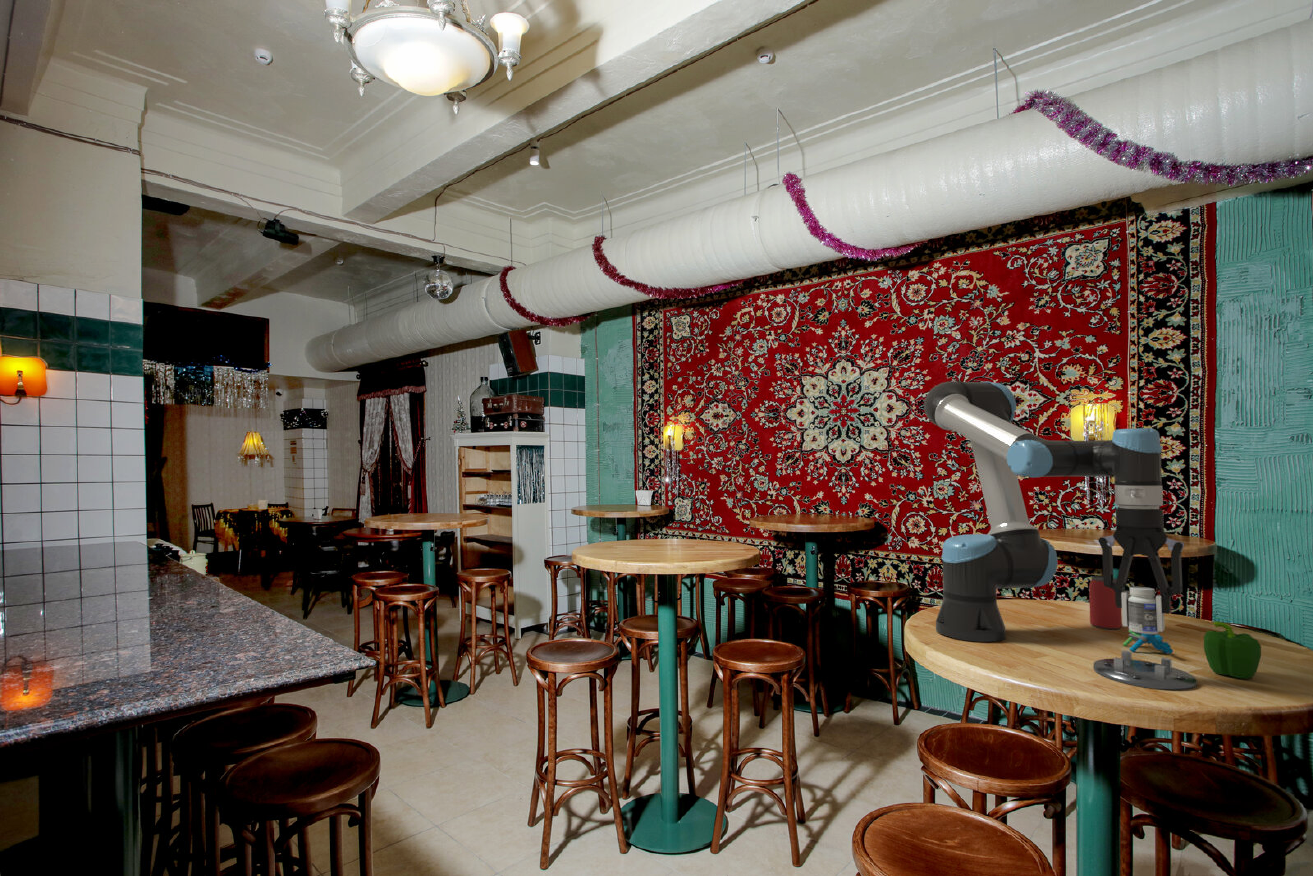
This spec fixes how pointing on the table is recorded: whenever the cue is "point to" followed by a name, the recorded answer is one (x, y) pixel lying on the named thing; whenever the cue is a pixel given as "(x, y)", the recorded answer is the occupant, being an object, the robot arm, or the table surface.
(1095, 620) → the beer can
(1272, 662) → the table surface
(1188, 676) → the hub
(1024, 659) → the table surface
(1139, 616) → the pill bottle
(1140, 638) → the gear
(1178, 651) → the table surface
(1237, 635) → the bell pepper
